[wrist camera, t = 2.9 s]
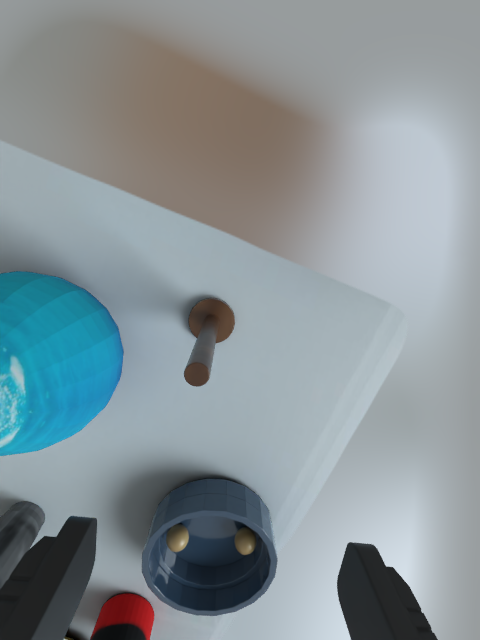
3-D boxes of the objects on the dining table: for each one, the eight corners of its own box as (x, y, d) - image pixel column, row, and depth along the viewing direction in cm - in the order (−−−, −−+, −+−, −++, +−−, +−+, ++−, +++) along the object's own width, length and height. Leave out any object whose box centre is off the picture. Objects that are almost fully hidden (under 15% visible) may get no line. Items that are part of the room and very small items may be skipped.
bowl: (277, 478, 37) (284, 514, 32) (264, 572, 41) (268, 617, 36) (155, 471, 36) (142, 507, 31) (152, 568, 40) (140, 613, 35)
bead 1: (190, 519, 38) (187, 540, 35) (189, 536, 38) (186, 558, 35) (169, 518, 37) (164, 539, 35) (168, 535, 38) (163, 557, 35)
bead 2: (256, 522, 38) (258, 543, 35) (254, 539, 39) (256, 561, 36) (235, 521, 38) (235, 542, 35) (233, 538, 38) (233, 560, 36)
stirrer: (236, 299, 32) (240, 339, 17) (232, 343, 33) (233, 413, 19) (190, 296, 32) (156, 332, 17) (188, 339, 33) (155, 408, 18)
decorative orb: (124, 412, 34) (46, 529, 20) (-5, 374, 33) (-194, 471, 18) (159, 294, 31) (97, 331, 17) (18, 246, 30) (-185, 240, 15)
